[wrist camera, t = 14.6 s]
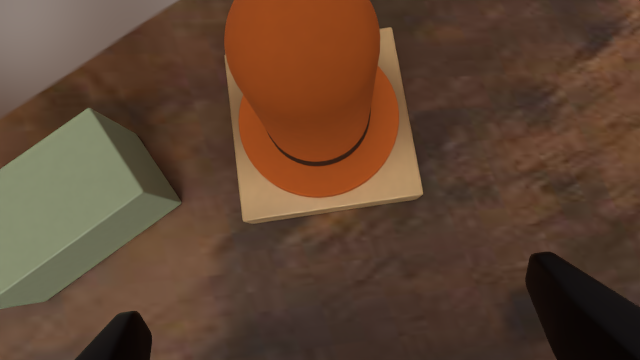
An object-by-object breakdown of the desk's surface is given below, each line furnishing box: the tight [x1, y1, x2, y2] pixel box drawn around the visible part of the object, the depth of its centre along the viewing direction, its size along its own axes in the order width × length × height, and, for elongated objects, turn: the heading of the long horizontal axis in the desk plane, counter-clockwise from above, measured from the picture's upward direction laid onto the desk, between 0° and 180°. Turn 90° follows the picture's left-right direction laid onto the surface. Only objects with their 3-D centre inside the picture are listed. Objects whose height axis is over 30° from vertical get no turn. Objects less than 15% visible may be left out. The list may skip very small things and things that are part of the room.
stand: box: [224, 27, 423, 224], centre depth 22 cm, size 9×9×2 cm
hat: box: [224, 0, 399, 198], centre depth 16 cm, size 8×8×10 cm
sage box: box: [0, 108, 181, 309], centre depth 21 cm, size 5×9×4 cm, turn 126°
